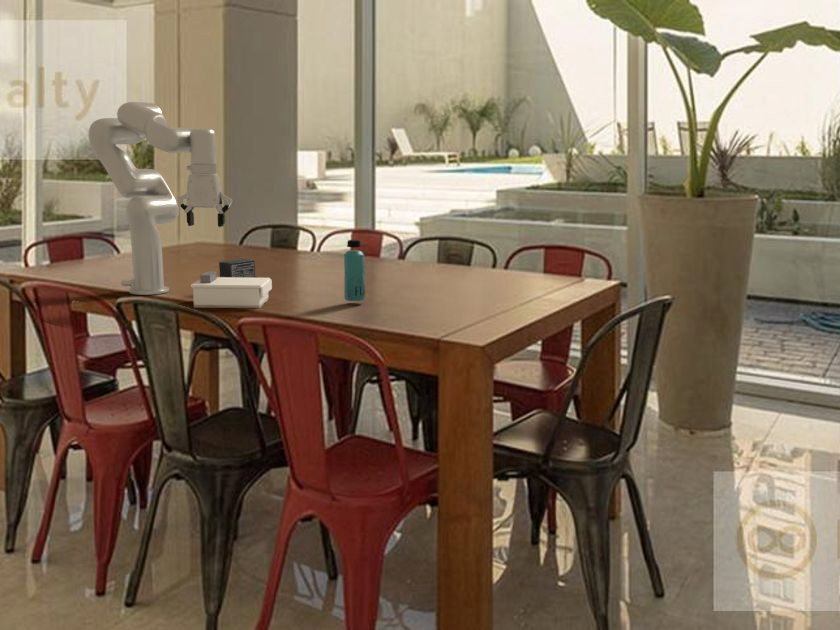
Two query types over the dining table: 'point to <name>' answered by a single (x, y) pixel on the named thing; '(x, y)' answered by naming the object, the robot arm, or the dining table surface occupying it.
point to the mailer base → (228, 297)
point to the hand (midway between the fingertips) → (205, 225)
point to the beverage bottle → (354, 273)
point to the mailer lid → (232, 282)
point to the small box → (237, 268)
